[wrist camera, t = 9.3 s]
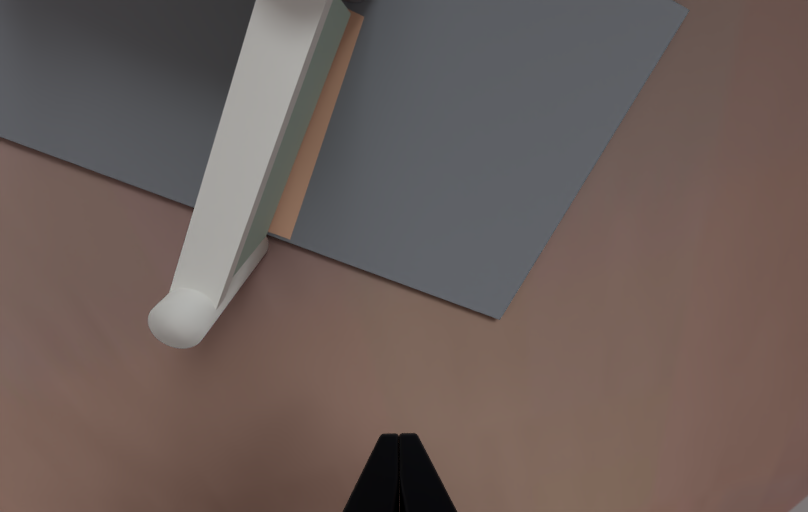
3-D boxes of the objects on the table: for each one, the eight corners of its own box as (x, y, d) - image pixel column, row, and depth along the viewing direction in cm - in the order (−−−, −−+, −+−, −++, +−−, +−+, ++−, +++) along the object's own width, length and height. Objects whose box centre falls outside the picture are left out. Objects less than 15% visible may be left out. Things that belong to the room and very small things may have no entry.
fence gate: (315, -7, 15) (255, -68, 9) (357, 17, 16) (331, -25, 9) (226, 250, 20) (142, 336, 13) (261, 264, 20) (197, 355, 14)
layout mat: (-11, -387, 12) (-25, -405, 12) (683, 11, 17) (690, 9, 16) (-13, 127, 18) (-23, 129, 17) (498, 315, 22) (500, 320, 22)
